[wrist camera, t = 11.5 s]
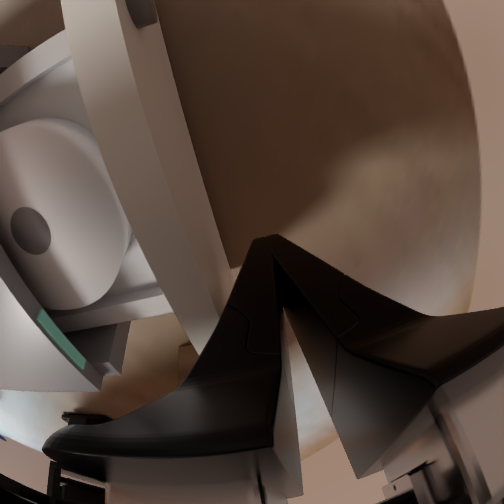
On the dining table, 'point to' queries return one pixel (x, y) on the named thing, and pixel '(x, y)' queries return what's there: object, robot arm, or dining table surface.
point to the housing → (49, 330)
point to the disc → (60, 212)
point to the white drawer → (130, 160)
